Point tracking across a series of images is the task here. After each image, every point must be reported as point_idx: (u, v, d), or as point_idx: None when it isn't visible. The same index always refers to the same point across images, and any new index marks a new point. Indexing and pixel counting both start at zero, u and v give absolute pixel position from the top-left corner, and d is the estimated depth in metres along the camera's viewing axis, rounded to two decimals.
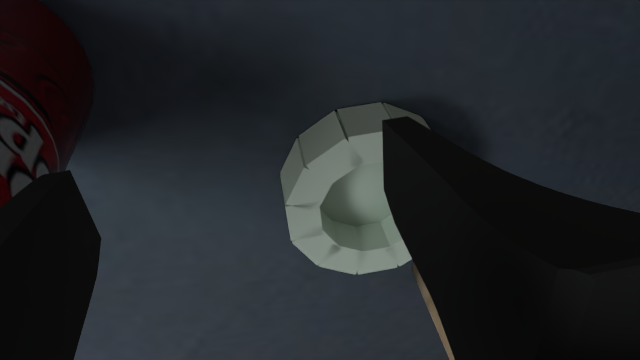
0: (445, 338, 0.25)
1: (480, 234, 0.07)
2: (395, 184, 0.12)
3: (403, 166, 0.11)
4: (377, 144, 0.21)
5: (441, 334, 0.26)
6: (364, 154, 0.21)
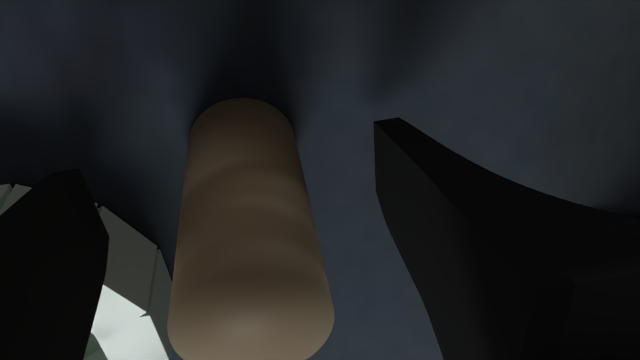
0: None
1: (467, 236, 0.07)
2: (386, 186, 0.12)
3: (394, 168, 0.11)
4: None
5: None
6: None
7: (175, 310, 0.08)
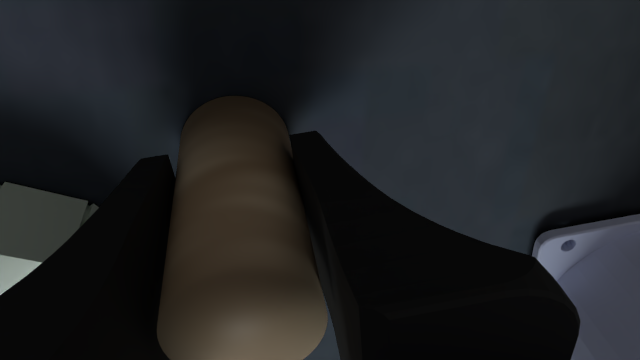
0: None
1: (334, 260, 0.07)
2: None
3: (301, 183, 0.10)
4: None
5: None
6: None
7: (165, 312, 0.08)
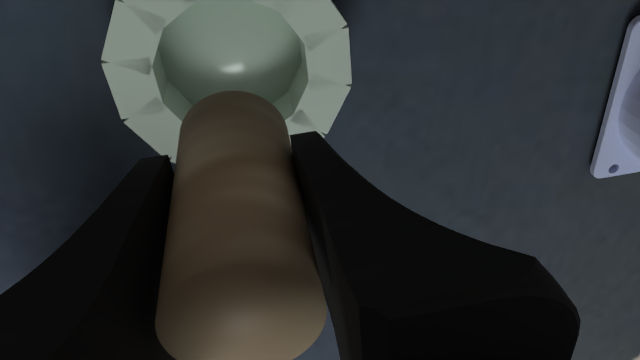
0: None
1: (334, 260, 0.07)
2: None
3: (301, 183, 0.10)
4: (127, 84, 0.17)
5: None
6: (144, 98, 0.17)
7: (164, 304, 0.08)
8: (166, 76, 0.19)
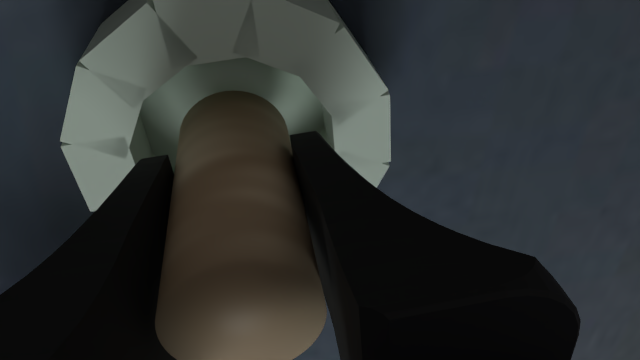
0: None
1: (334, 260, 0.07)
2: None
3: (301, 183, 0.10)
4: (97, 170, 0.13)
5: None
6: None
7: (164, 304, 0.08)
8: (151, 148, 0.15)
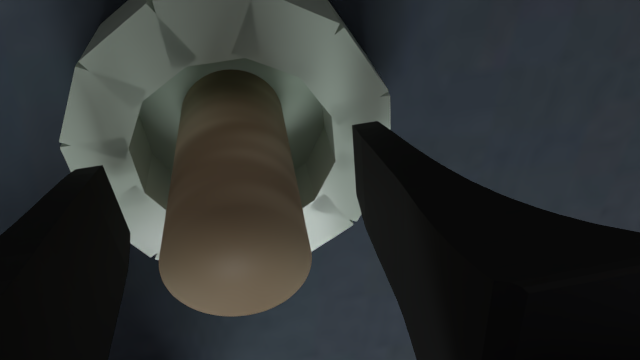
0: None
1: (433, 242, 0.07)
2: (364, 189, 0.11)
3: (370, 172, 0.11)
4: None
5: None
6: (119, 187, 0.13)
7: (166, 244, 0.09)
8: (150, 149, 0.14)
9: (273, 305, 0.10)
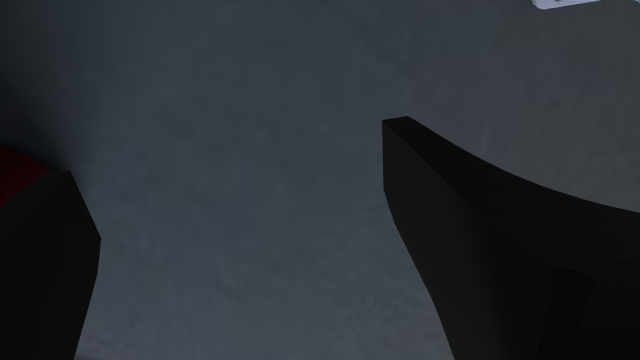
0: None
1: (480, 233, 0.07)
2: (395, 184, 0.12)
3: (403, 166, 0.11)
4: None
5: None
6: None
7: None
8: None
9: None
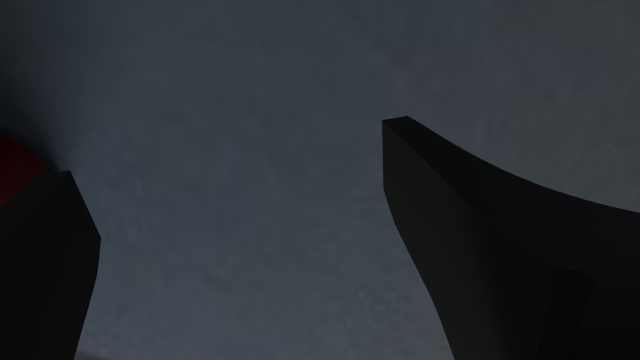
0: None
1: (480, 234, 0.07)
2: (395, 184, 0.12)
3: (403, 166, 0.11)
4: None
5: None
6: None
7: None
8: None
9: None
